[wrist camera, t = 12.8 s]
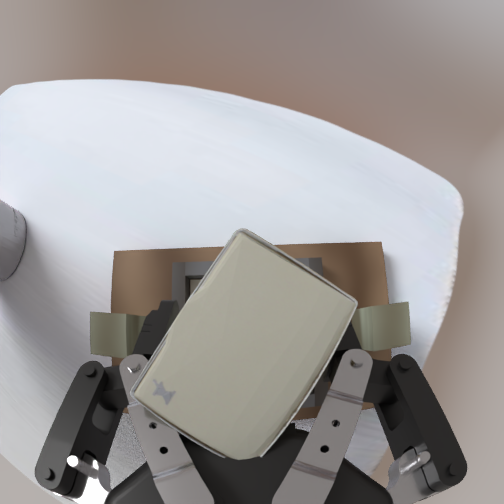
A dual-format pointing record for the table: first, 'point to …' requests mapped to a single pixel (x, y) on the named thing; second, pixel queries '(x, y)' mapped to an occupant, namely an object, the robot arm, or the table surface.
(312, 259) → the build base
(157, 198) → the table surface
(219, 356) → the skincare box
